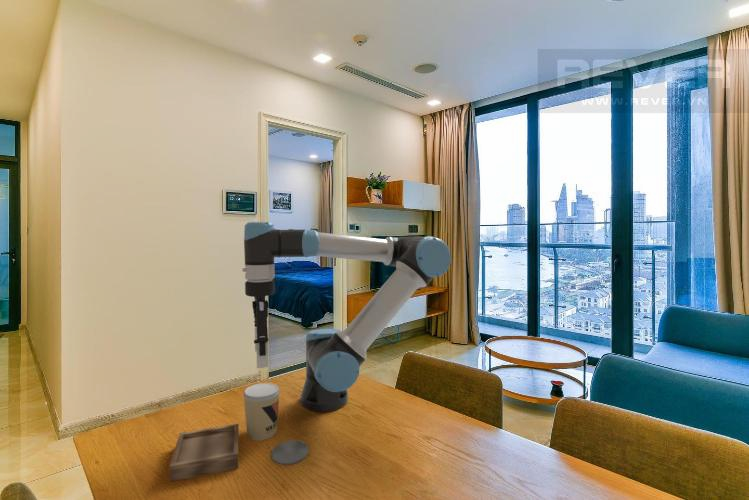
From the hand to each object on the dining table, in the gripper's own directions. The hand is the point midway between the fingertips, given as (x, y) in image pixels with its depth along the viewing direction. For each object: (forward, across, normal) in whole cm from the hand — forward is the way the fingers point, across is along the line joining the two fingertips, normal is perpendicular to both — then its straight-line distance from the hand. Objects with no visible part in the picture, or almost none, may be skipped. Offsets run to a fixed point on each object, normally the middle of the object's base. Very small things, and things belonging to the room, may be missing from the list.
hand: (261, 358), depth 99 cm
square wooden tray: (+20, +7, -13) cm, 25 cm away
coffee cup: (+21, 0, 0) cm, 21 cm away
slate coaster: (+21, +12, +6) cm, 25 cm away
